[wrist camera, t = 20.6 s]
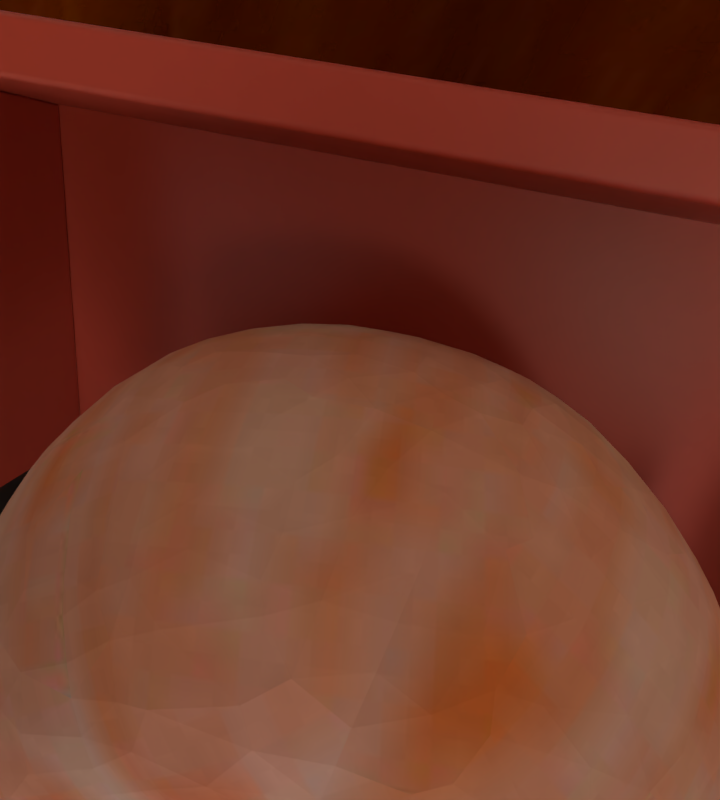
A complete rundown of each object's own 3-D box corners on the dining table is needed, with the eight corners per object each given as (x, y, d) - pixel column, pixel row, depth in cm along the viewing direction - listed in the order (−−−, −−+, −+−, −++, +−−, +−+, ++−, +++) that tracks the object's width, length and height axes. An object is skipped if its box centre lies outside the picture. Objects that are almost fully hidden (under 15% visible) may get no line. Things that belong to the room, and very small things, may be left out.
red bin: (56, 69, 11) (-272, -35, 6) (978, 230, 9) (1615, 265, 4) (93, 606, 17) (-49, 760, 13) (621, 774, 15) (691, 1036, 10)
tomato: (752, 406, 9) (2001, 1335, 2) (493, 736, 13) (520, 1361, 6) (211, 196, 9) (-637, 197, 2) (140, 581, 14) (-209, 988, 7)
